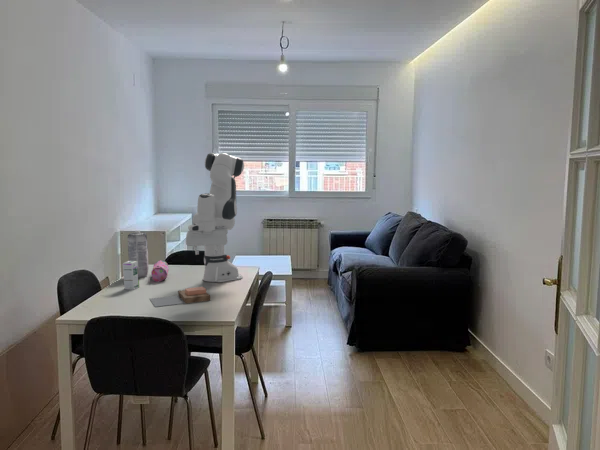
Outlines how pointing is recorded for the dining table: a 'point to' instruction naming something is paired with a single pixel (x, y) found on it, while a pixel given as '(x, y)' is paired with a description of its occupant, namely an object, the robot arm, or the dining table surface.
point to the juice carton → (138, 251)
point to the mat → (167, 301)
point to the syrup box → (131, 275)
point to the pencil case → (159, 271)
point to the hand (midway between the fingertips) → (206, 254)
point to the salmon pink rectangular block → (195, 290)
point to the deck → (193, 297)
